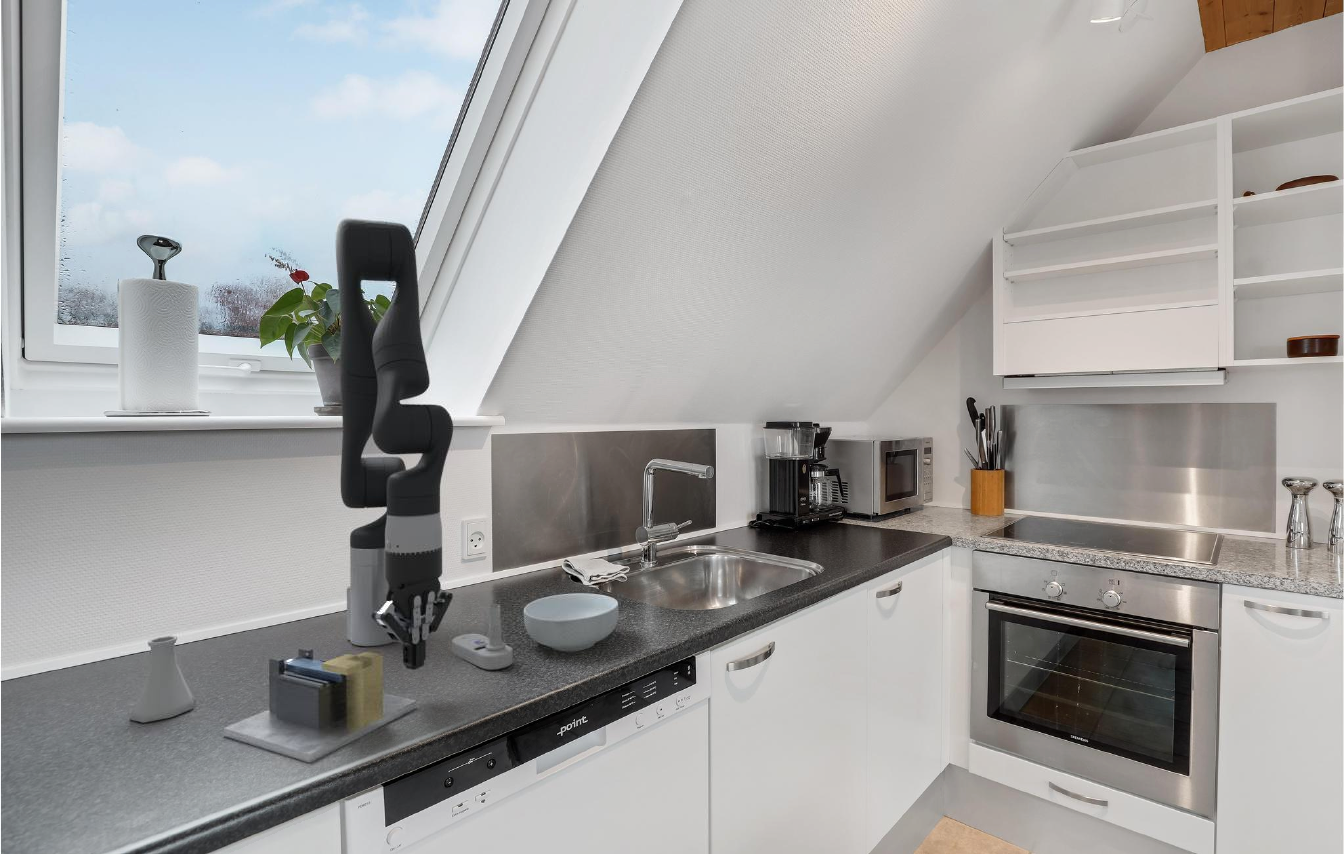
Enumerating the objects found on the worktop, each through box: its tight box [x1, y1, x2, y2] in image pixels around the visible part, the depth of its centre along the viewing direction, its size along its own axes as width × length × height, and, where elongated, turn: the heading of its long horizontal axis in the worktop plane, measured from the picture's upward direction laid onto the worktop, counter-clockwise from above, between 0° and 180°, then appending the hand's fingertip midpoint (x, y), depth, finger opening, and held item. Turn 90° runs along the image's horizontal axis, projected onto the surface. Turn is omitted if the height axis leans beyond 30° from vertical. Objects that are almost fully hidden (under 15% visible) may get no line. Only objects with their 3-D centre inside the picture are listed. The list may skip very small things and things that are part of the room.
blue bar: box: [284, 655, 347, 682], centre depth 86 cm, size 12×3×1 cm, turn 65°
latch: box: [322, 651, 384, 727], centre depth 83 cm, size 4×5×8 cm
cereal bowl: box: [523, 592, 619, 652], centre depth 116 cm, size 17×17×7 cm
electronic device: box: [451, 604, 514, 671], centre depth 109 cm, size 5×10×15 cm
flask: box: [129, 634, 196, 723], centre depth 89 cm, size 7×7×10 cm
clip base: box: [223, 647, 417, 764], centre depth 86 cm, size 16×16×8 cm
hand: (414, 666), depth 92 cm, fingers closed
